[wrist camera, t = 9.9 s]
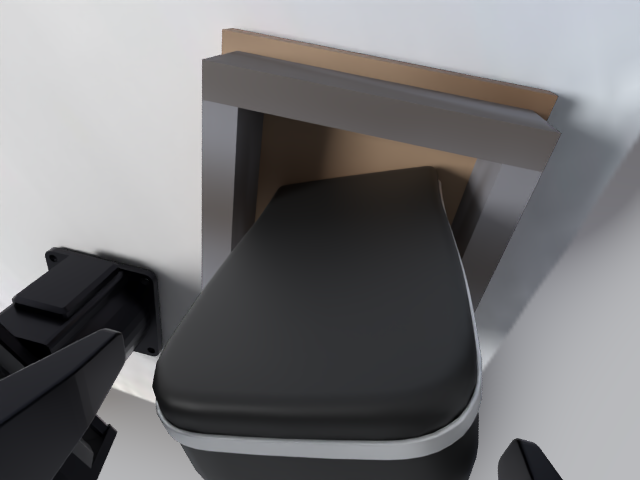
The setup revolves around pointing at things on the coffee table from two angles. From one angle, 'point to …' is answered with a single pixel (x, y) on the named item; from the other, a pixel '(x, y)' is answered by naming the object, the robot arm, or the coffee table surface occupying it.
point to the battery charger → (332, 342)
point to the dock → (365, 138)
